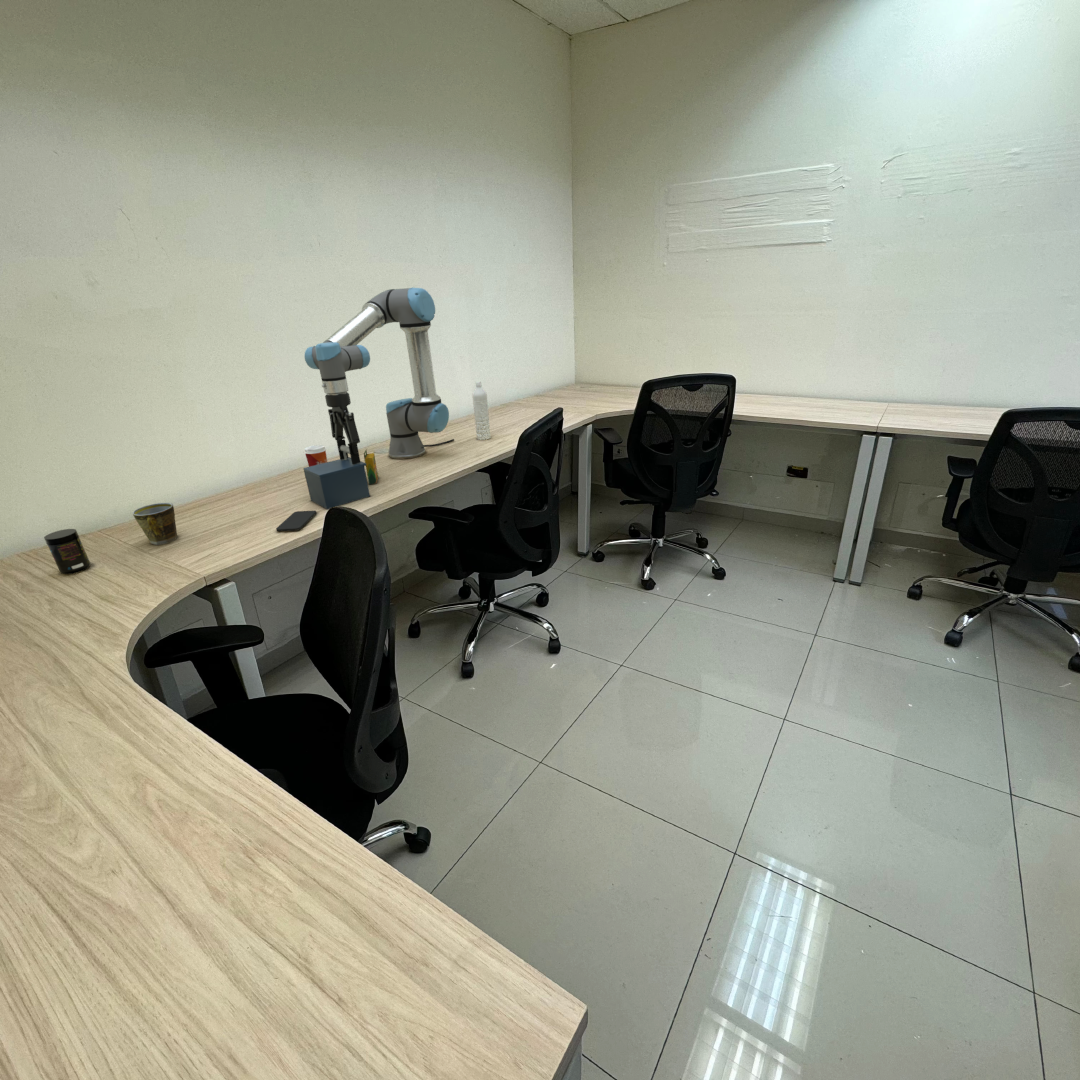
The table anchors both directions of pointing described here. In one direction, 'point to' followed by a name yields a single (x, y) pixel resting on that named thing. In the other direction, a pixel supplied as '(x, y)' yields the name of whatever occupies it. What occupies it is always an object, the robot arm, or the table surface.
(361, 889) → the table surface
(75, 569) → the supplement container
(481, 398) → the water bottle
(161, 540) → the ceramic cup
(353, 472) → the chest
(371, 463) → the crayon box
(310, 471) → the lid
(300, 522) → the phone
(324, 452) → the paper cup
